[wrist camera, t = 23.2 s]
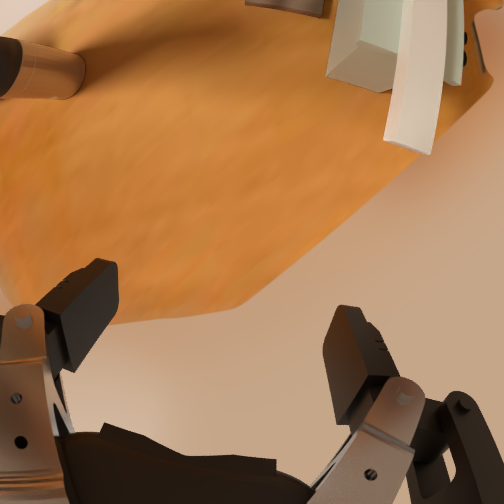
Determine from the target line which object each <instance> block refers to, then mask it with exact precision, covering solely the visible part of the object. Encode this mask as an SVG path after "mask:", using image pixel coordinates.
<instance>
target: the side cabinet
mask: <svg viewBox="0 0 504 504" xmlns="http://www.w3.org/2000/svg"><path fill="white" fill-rule="evenodd" d="M402 6H403V0H339V1H338V7H337V13H336V19H335V25H334V31H333V37H332V43H331V48H330V54H329V60H328V65H327V70H326V76H325V77H328V78H332V79H336V80H339V81H343V82H346V83H349V84H353V85H356V86H359V87H362V88H365V89H368V90H371V91H374V92H377V93H380V92H383V91H386V90H390V89H393V84H394V77H395V71H396V64H397V56H398V48H399V40H400V30H401V19H402ZM463 53H464V4H463V0H447V40H446V56H445V68H444V77H443V81H444V82H446V83H448V84H450V85H451V86H459V85H461V81H462V69H463Z"/></svg>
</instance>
